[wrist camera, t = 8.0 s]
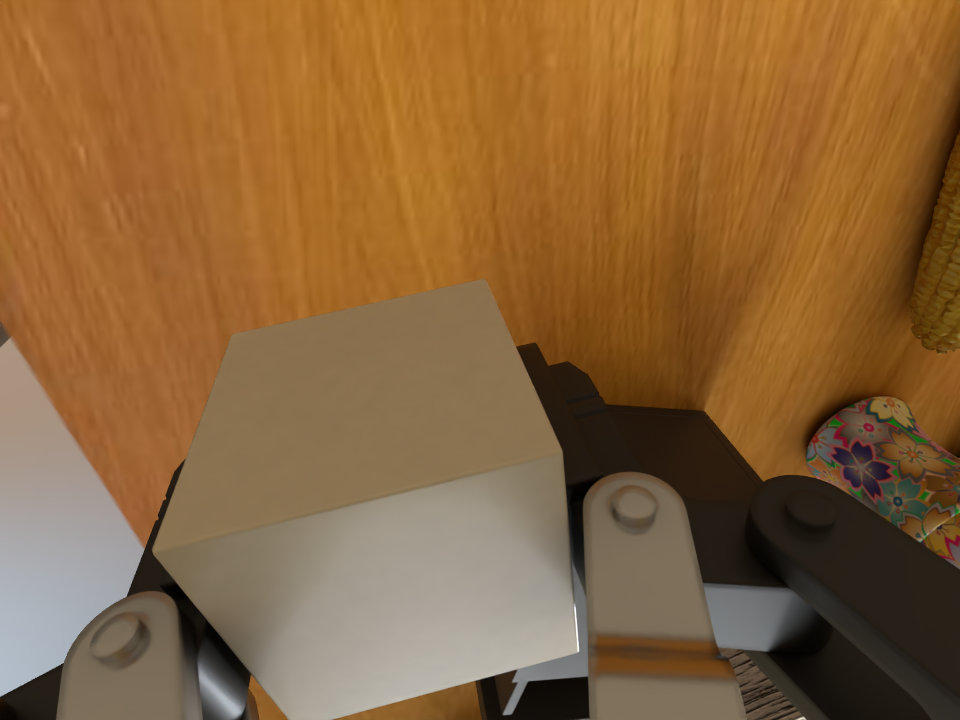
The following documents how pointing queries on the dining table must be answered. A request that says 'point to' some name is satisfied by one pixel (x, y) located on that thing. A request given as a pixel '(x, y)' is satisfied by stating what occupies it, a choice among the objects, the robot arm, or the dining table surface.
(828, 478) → the mug
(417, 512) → the block
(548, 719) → the drawer
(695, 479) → the dark grey cube
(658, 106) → the dining table surface
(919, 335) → the food
